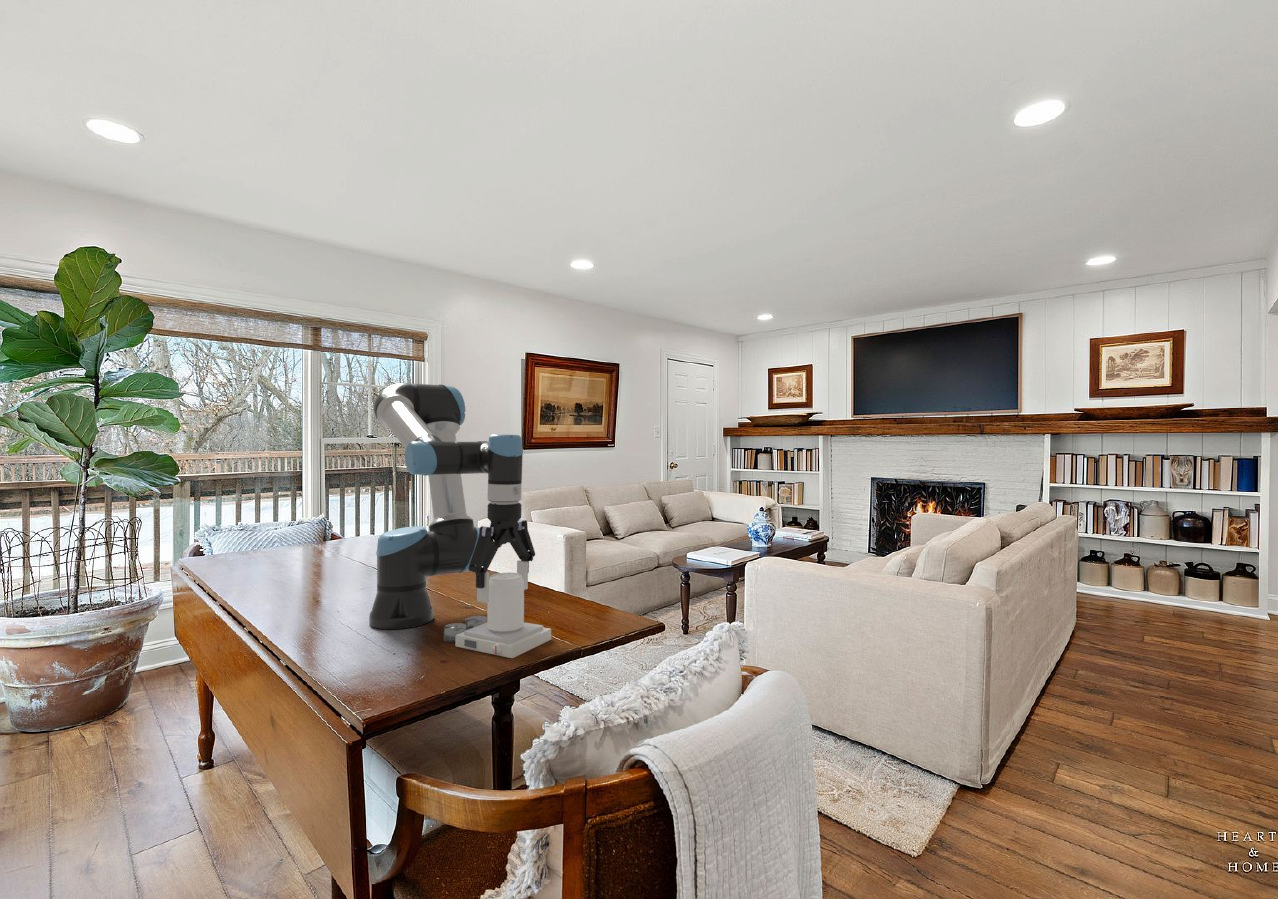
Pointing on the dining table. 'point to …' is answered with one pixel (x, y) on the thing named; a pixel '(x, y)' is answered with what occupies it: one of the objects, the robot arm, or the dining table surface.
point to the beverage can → (505, 602)
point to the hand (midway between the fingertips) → (503, 595)
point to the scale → (503, 639)
